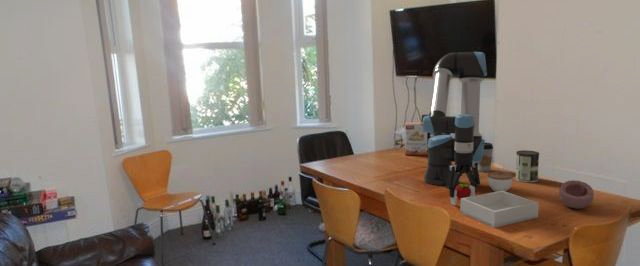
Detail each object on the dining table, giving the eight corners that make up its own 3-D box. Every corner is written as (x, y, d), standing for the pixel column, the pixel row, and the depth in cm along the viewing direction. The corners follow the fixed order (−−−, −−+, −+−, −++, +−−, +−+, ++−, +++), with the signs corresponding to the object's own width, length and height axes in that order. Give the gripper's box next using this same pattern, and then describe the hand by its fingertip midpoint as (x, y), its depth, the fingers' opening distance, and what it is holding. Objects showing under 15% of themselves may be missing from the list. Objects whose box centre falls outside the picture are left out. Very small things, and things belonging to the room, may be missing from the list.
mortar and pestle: (560, 211, 174) (562, 183, 172) (556, 202, 185) (557, 175, 183) (595, 214, 170) (597, 185, 168) (589, 204, 181) (591, 177, 179)
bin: (460, 212, 176) (460, 198, 175) (501, 204, 184) (502, 190, 183) (494, 227, 159) (494, 212, 158) (537, 217, 168) (538, 202, 167)
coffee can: (534, 177, 223) (536, 150, 221) (540, 182, 213) (542, 154, 211) (513, 176, 225) (514, 150, 223) (517, 182, 215) (519, 154, 213)
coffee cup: (475, 172, 237) (476, 144, 234) (476, 168, 244) (477, 142, 242) (492, 173, 234) (493, 145, 231) (492, 169, 241) (493, 142, 239)
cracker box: (405, 155, 283) (405, 123, 279) (405, 153, 289) (405, 122, 285) (427, 155, 280) (427, 123, 277) (426, 153, 286) (427, 122, 283)
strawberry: (461, 199, 192) (461, 177, 190) (474, 204, 185) (474, 181, 184) (451, 201, 190) (451, 179, 188) (463, 206, 183) (464, 183, 181)
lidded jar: (501, 195, 196) (501, 175, 195) (482, 189, 206) (483, 170, 204) (517, 191, 201) (518, 171, 199) (498, 185, 210) (499, 166, 209)
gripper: (448, 155, 176) (447, 209, 180) (490, 150, 184) (488, 201, 188) (436, 152, 183) (436, 204, 187) (477, 147, 191) (476, 196, 195)
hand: (462, 202), depth 187 cm, fingers open, 9 cm apart
